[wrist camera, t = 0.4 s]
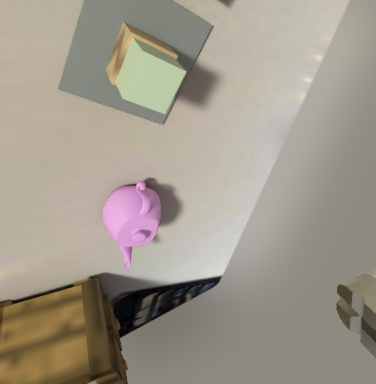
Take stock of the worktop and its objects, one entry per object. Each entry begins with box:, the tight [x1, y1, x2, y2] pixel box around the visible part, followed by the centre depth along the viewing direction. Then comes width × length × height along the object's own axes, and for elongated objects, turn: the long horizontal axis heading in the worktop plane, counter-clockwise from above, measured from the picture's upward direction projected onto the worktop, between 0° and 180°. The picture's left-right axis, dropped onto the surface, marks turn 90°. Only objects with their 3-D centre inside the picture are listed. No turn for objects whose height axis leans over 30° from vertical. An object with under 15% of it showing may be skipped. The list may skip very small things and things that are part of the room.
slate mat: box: [59, 0, 212, 124], centre depth 51 cm, size 20×20×1 cm
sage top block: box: [116, 38, 186, 114], centre depth 44 cm, size 7×7×6 cm
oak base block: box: [106, 22, 178, 86], centre depth 49 cm, size 8×8×6 cm
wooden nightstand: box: [0, 278, 128, 384], centre depth 81 cm, size 35×35×33 cm
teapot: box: [102, 181, 161, 269], centre depth 69 cm, size 20×13×12 cm, turn 158°
